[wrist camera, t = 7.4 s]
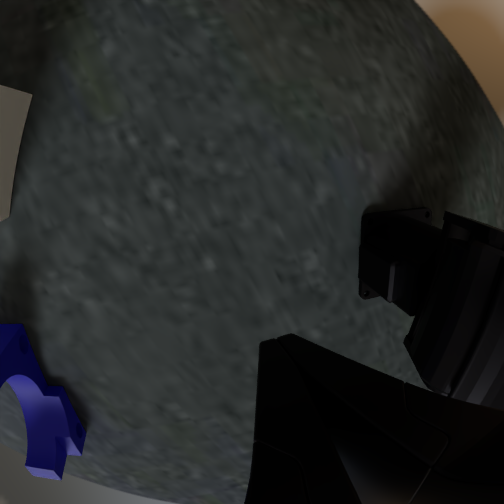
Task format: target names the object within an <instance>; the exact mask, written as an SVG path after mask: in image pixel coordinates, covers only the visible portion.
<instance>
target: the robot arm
mask: <svg viewBox="0 0 504 504" xmlns="http://www.w3.org/2000/svg"><path fill="white" fill-rule="evenodd" d="M425 213H426V216H425ZM369 218H370V222H369V223H367V221H368V219H369ZM431 218H432V212H431V210H430V209H429V208H426V207H422V208H412V209H402V210H393V211H384V212H374V213H367V214H365V215H364V216H363V217H362V220H361V245H360V247H359V272H358V278H359V296H360V297H361V298H362V299H370V298H374V297H378V296H381V297H383V298H384V299H385V300H386V301H387V302H389V303H391V302H393V303H394V304H395V305H397V306H398V307H399V308H400V309H402V310H403V311H404V312H405V313H407V314H408V315H409V316H415V318H414V320H413V323H412V325H411V328H410V331H409V333H408V335H406V337H405V339H404V342H403V343H404V345H405V347H406V349H407V351H408V353H409V355H410V357H411V359H412V361H413V363H414V365H415V367H416V369H417V371H418V373H419V375H420V377H421V379H422V381H423V382H424V384H425V385H426V386H427V387H428V388H429V389H430V390H432V391H433V392H431V391H428V390H426V389H423V388H420V387H417V386H415V385H412V384H410V383H407V382H406V383H404V381H402V380H399V379H397V378H394V377H392V376H389V375H387V374H385V373H382V372H380V371H377V370H375V369H373V368H370V367H368V366H365V365H363V364H361V363H358V362H356V361H354V360H351V359H349V358H347V357H344V356H342V355H340V354H337V353H335V352H333V351H331V350H328V349H326V348H324V347H322V346H319V345H317V344H315V343H313V342H310V341H308V340H306V339H304V338H302V337H299V336H297V335H295V334H292V333H290V334H287V335H283V336H280V337H278V338H277V339H274V338H273V339H269V340H266V341H262V342H260V344H259V361H258V378H257V395H256V411H255V427H254V443H253V454H252V464H251V472H250V479H249V484H248V489H247V494H246V498H245V502H244V504H504V230H502V229H499V228H496V227H493V226H491V225H488V224H485V223H482V222H479V221H476V220H473V219H470V218H466V217H463V216H460V215H457V214H454V213H450V212H447V211H445V213H444V217H443V220H444V224H443V228H442V229H439V228H437V227H434V226H431ZM365 291H367V292H366V294H364V292H365ZM434 392H435V393H434Z"/></svg>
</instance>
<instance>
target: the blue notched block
mask: <svg viewBox="0 0 504 504" xmlns="http://www.w3.org/2000/svg"><path fill="white" fill-rule="evenodd" d="M5 381H7V382H8V383H9V384H10V386H11V387H12V388H13V390H14V392H15V393H16V395H17V397H18V399H19V402H20V404H21V407H22V410H23V414H24V418H25V422H26V428H27V439H28V449H27V458H26V463H25V467H26V468H27V469H28V470H29V472H30V473H31V474H32V475H33V476H38V477H43V478H49V479H56V480H62V475H63V470H64V466H65V461H66V457H67V455H77V456H82V452H83V447H84V442H85V437H86V432H85V430H84V428H83V426H82V424H81V422H80V421H79V419H78V417H77V415H76V413H75V411H74V409H73V407H72V405H71V403H70V401H69V399H68V396H67V394H66V392H65V390H64V388H63V386H48V385H47V383H46V381H45V378H44V376H43V374H42V372H41V369H40V367H39V365H38V363H37V360H36V358H35V355H34V353H33V350H32V348H31V345H30V343H29V340H28V337H27V335H26V332H25V329H24V327H23V324H0V388H1V386H2V385H3V383H4V382H5Z"/></svg>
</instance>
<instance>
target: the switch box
mask: <svg viewBox="0 0 504 504" xmlns="http://www.w3.org/2000/svg"><path fill="white" fill-rule="evenodd" d="M32 96H33V95H32V94H29V93H26V92H22V91H19V90H16V89H12V88H9V87H6V86H2V85H0V221H2V220H4V219H6V218H8V217H9V213H10V204H11V195H12V188H13V181H14V174H15V168H16V163H17V157H18V152H19V147H20V142H21V138H22V133H23V129H24V125H25V121H26V117H27V113H28V110H29V106H30V102H31V99H32Z"/></svg>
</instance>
